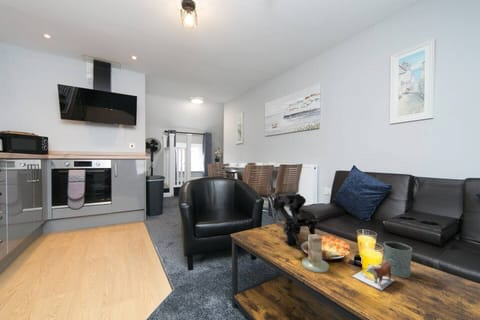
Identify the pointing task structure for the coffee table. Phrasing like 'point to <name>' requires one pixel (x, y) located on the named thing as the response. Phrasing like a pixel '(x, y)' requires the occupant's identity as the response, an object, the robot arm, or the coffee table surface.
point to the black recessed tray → (356, 261)
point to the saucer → (316, 269)
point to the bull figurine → (380, 271)
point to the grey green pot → (398, 258)
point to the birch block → (315, 250)
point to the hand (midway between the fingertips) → (306, 240)
